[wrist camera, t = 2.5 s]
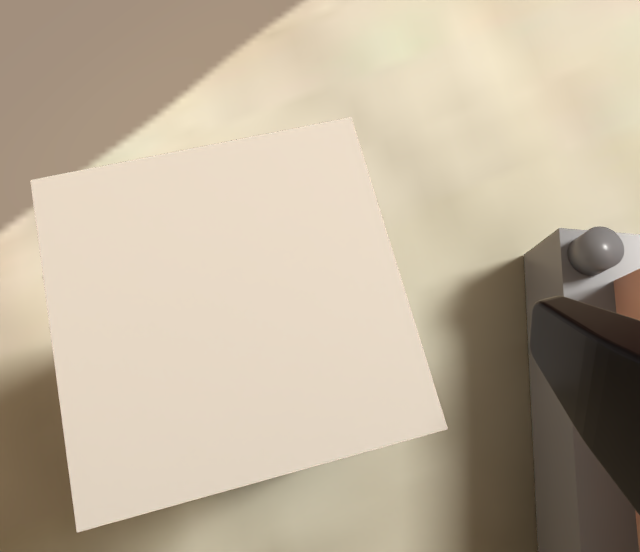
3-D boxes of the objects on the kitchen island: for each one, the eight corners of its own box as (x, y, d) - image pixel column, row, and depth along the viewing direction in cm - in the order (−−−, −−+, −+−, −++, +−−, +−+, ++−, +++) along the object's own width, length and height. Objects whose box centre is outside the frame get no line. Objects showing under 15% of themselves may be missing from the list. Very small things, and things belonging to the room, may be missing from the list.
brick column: (359, 432, 17) (448, 429, 8) (195, 477, 16) (76, 532, 7) (317, 278, 18) (351, 116, 9) (164, 314, 17) (29, 180, 8)
